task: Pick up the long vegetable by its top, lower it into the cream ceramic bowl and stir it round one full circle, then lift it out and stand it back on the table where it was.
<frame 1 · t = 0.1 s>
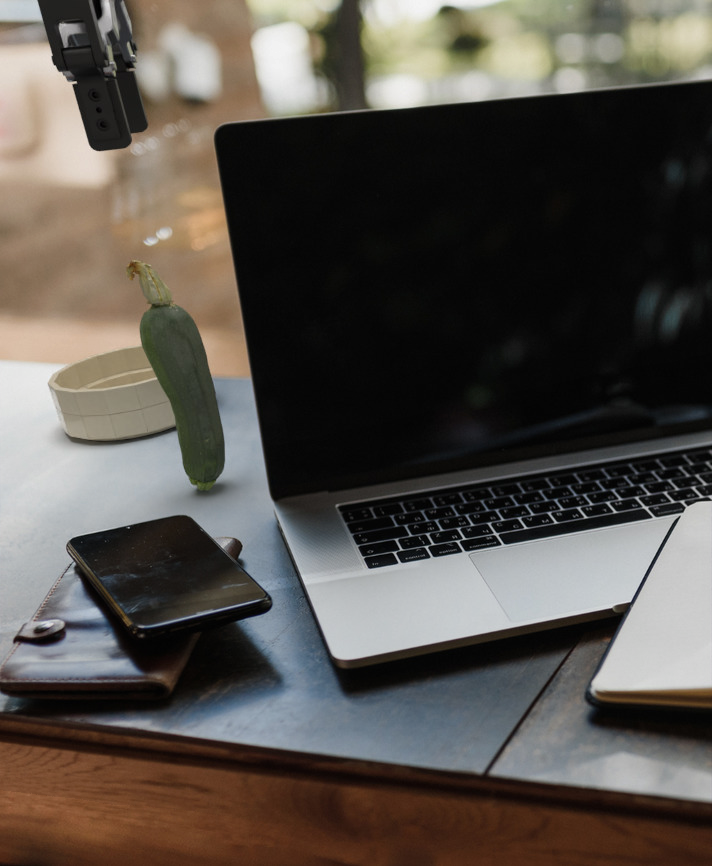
hand: (122, 140, 65), 30 cm above the table, tool pointing down, fingers open, 8 cm apart
vegetable: (213, 492, 91), on the table
bowl: (142, 416, 109), on the table
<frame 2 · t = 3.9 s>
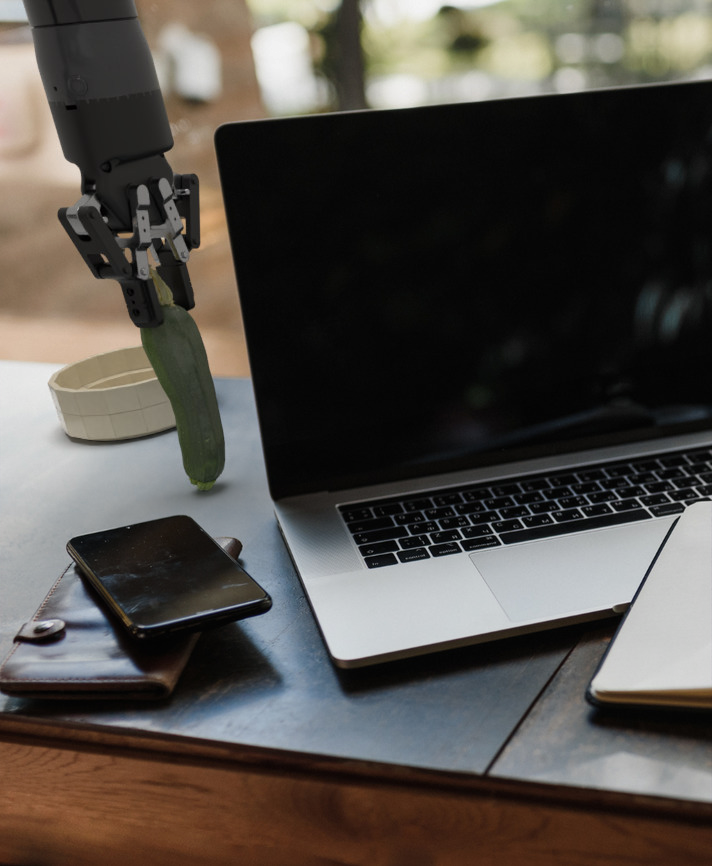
hand: (165, 317, 84), 15 cm above the table, tool pointing down, fingers closed on vegetable, 3 cm apart
vegetable: (213, 492, 91), on the table, touching gripper
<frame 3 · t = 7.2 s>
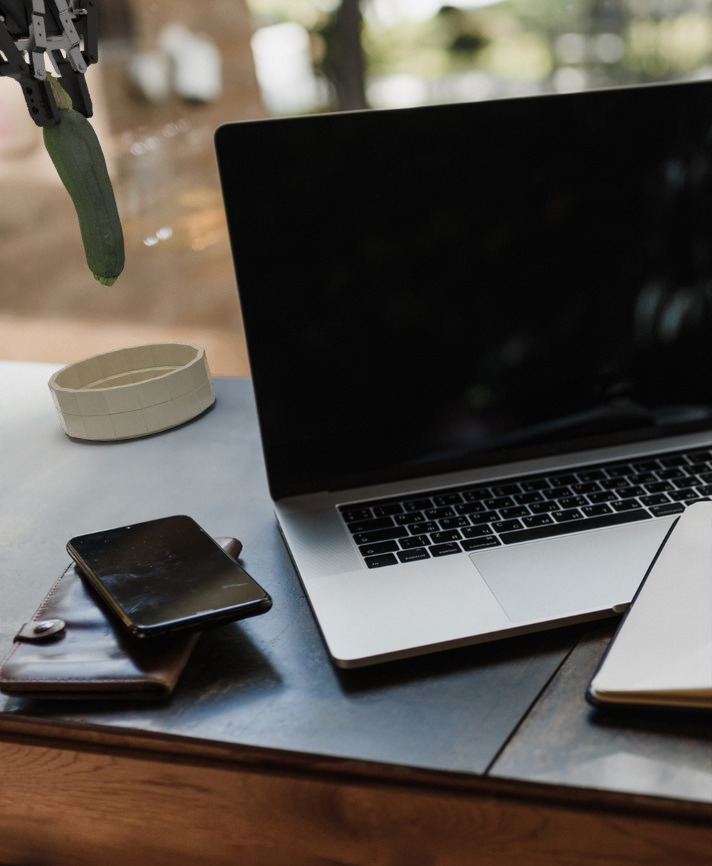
hand: (65, 121, 96), 29 cm above the table, tool pointing down, fingers closed on vegetable, 3 cm apart
vegetable: (115, 288, 102), point 14 cm above the table, touching gripper
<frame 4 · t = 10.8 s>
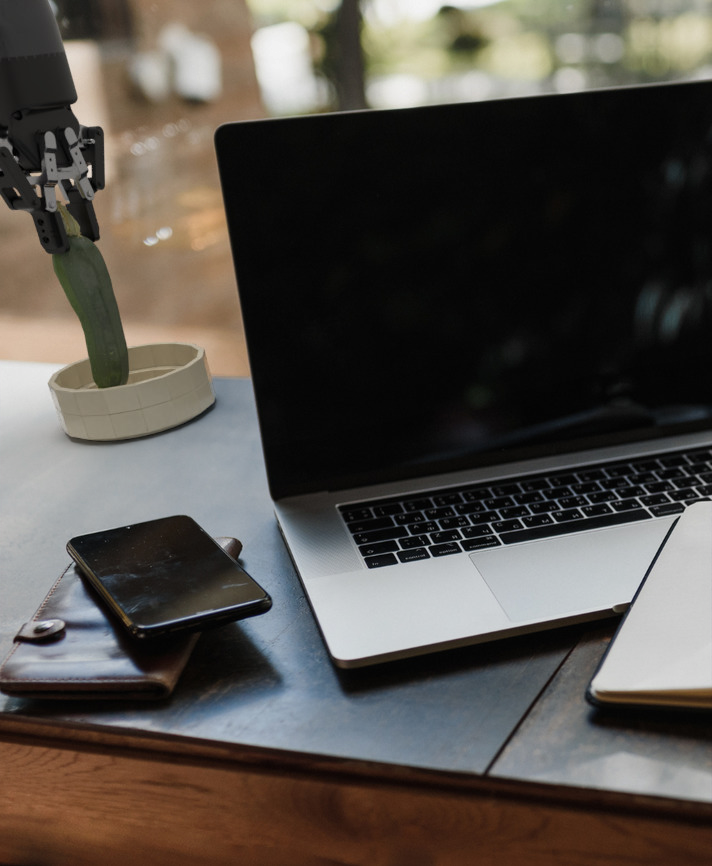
hand: (73, 246, 100), 18 cm above the table, tool pointing down, fingers closed on vegetable, 3 cm apart
vegetable: (119, 400, 106), point 3 cm above the table, touching gripper
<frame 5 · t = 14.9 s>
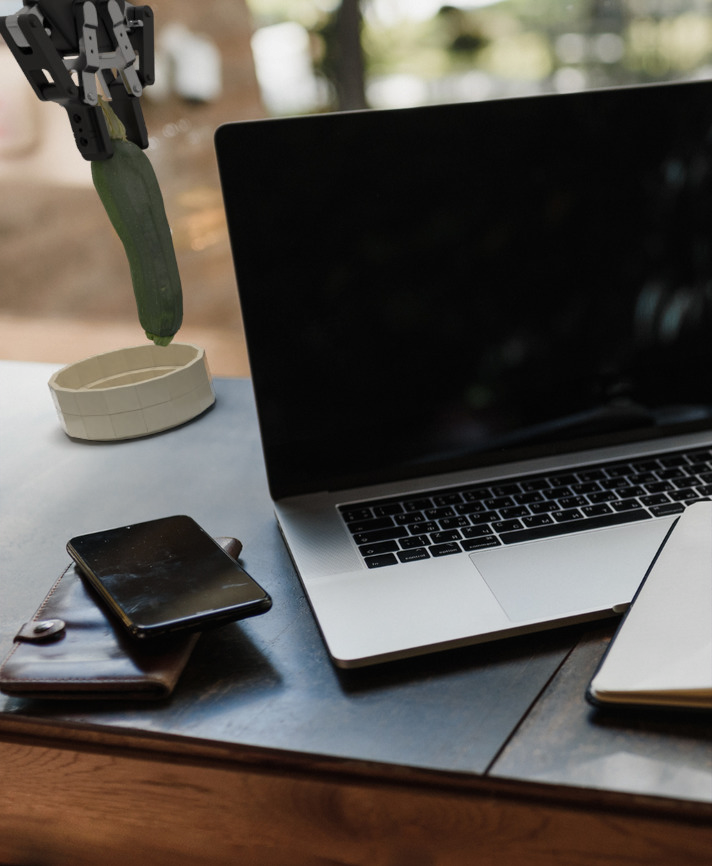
hand: (116, 153, 80), 28 cm above the table, tool pointing down, fingers closed on vegetable, 3 cm apart
vegetable: (171, 349, 86), point 12 cm above the table, touching gripper
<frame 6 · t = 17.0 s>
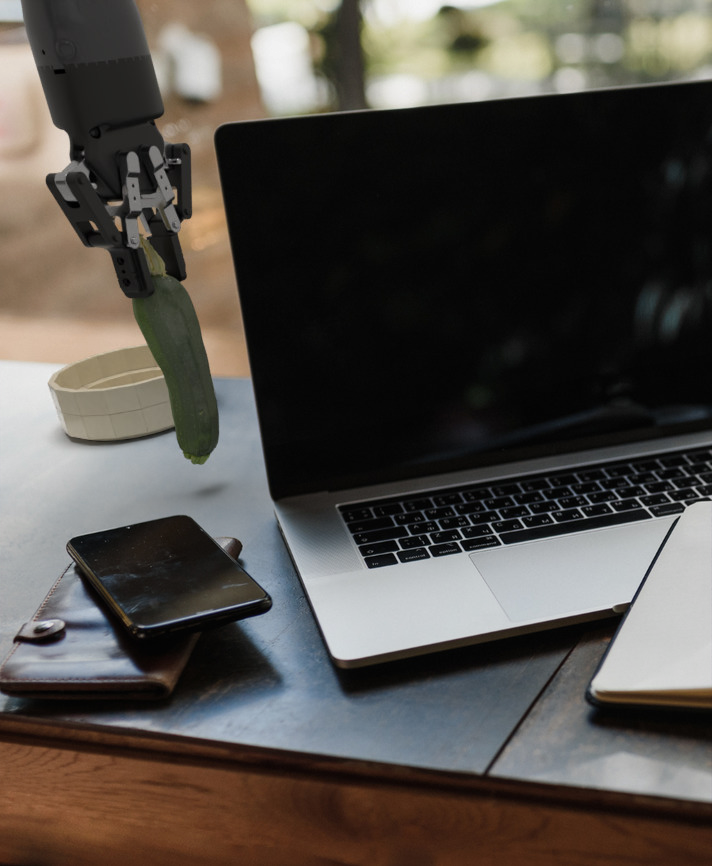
hand: (156, 288, 83), 18 cm above the table, tool pointing down, fingers closed on vegetable, 3 cm apart
vegetable: (207, 467, 90), point 2 cm above the table, touching gripper
when the fingers open (15 cm above the table, at t = 18.0 s): vegetable stays where it is, on the table.
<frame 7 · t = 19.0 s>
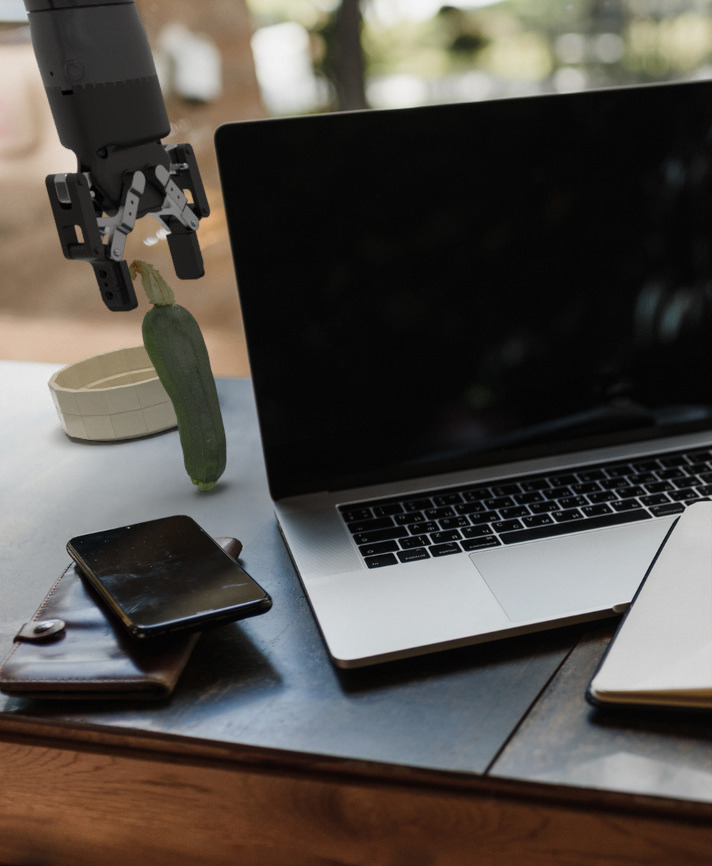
hand: (159, 293, 84), 17 cm above the table, tool pointing down, fingers open, 8 cm apart
vegetable: (215, 492, 90), on the table
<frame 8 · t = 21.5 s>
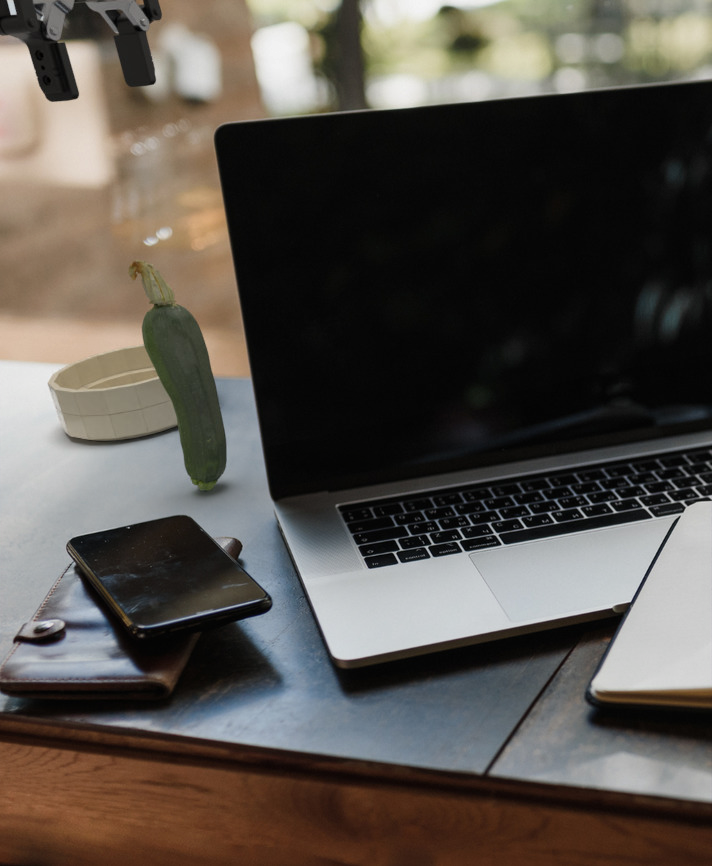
hand: (104, 93, 78), 32 cm above the table, tool pointing down, fingers open, 8 cm apart
nothing on the table moved.
at the end: vegetable inside the target area (0.1 cm from its centre), on the table; vegetable tilted 0°; vegetable touching table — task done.
